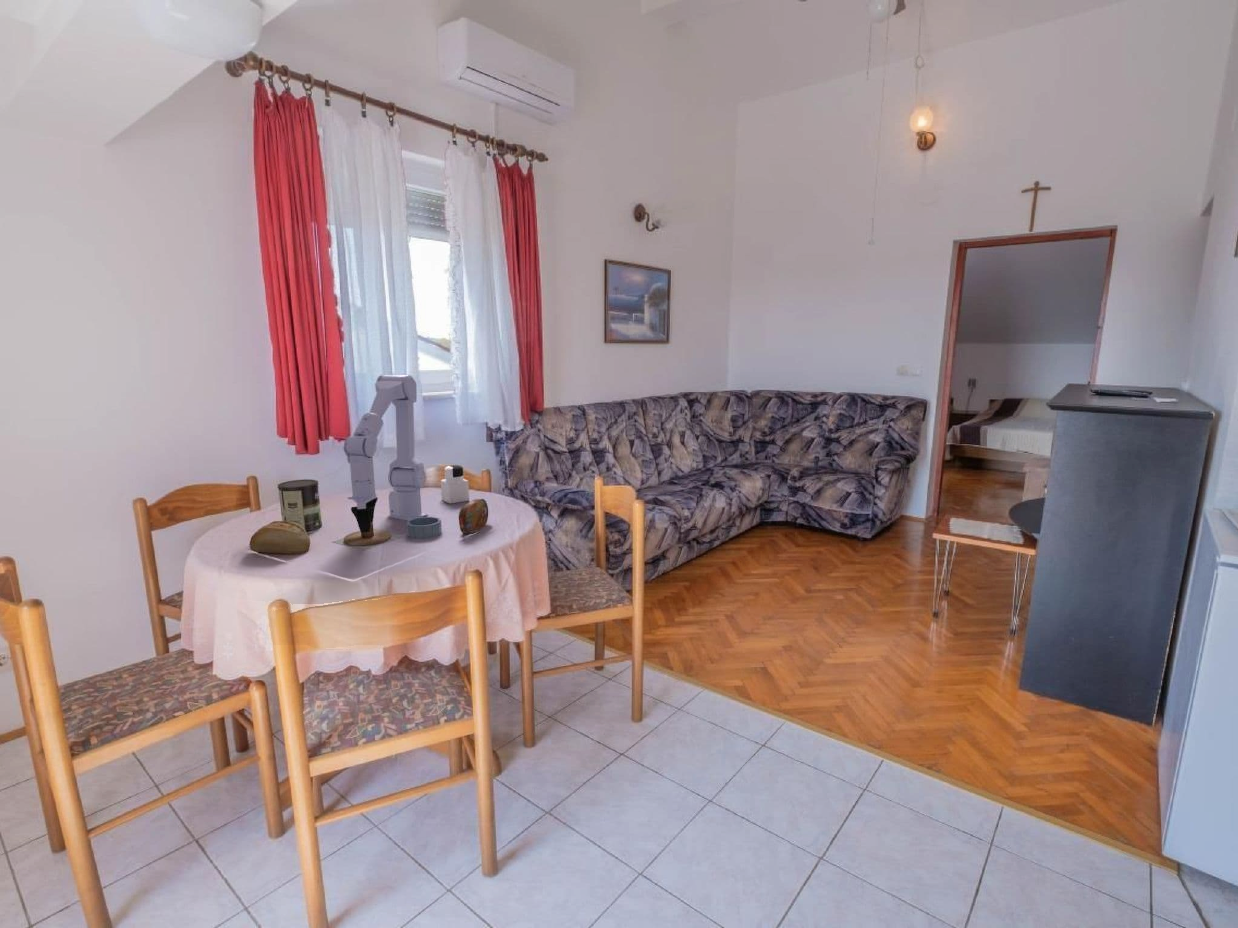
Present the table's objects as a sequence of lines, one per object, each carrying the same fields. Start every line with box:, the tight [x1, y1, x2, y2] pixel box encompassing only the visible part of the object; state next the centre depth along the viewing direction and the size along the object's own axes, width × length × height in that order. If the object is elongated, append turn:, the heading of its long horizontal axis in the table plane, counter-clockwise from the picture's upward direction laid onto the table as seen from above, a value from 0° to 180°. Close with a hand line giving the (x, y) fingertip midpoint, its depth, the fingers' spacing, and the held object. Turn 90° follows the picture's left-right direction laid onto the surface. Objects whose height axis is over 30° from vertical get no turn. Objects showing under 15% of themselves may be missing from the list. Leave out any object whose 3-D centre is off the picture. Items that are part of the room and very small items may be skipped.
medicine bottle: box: [440, 464, 470, 505], centre depth 209 cm, size 7×7×12 cm
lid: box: [343, 521, 392, 546], centre depth 167 cm, size 12×12×4 cm
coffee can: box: [277, 478, 323, 534], centre depth 175 cm, size 10×10×14 cm
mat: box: [332, 533, 404, 551], centre depth 168 cm, size 13×13×1 cm
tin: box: [458, 498, 489, 535], centre depth 177 cm, size 15×3×8 cm, turn 168°
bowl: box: [406, 516, 443, 540], centre depth 173 cm, size 9×9×4 cm
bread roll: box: [249, 520, 311, 555], centre depth 158 cm, size 10×15×8 cm, turn 90°
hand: (366, 527), depth 167 cm, fingers open, 7 cm apart
